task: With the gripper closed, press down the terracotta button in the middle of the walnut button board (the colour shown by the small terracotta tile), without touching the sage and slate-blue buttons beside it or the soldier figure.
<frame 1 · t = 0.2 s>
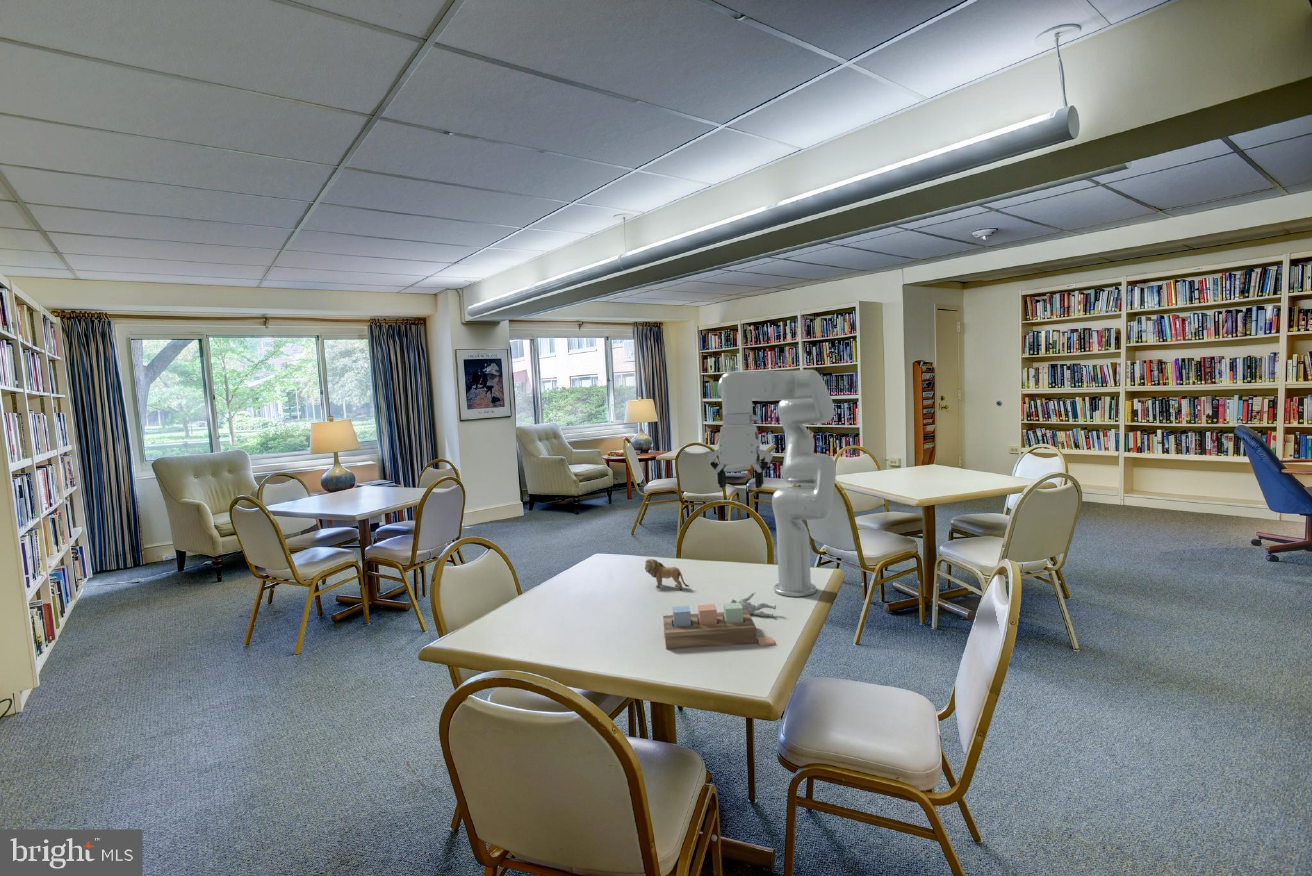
hand: (740, 487, 160), 37 cm above the table, tool pointing down, fingers open, 9 cm apart
prompt tile: (765, 642, 151), on the table
lion figurine: (665, 587, 201), on the table
slate button: (681, 619, 156), point 5 cm above the table, slide at 0.0 cm
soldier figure: (753, 615, 171), on the table
button board: (708, 636, 157), on the table
sage button: (733, 616, 157), point 5 cm above the table, slide at 0.0 cm
terracotta button: (707, 618, 157), point 5 cm above the table, slide at 0.0 cm
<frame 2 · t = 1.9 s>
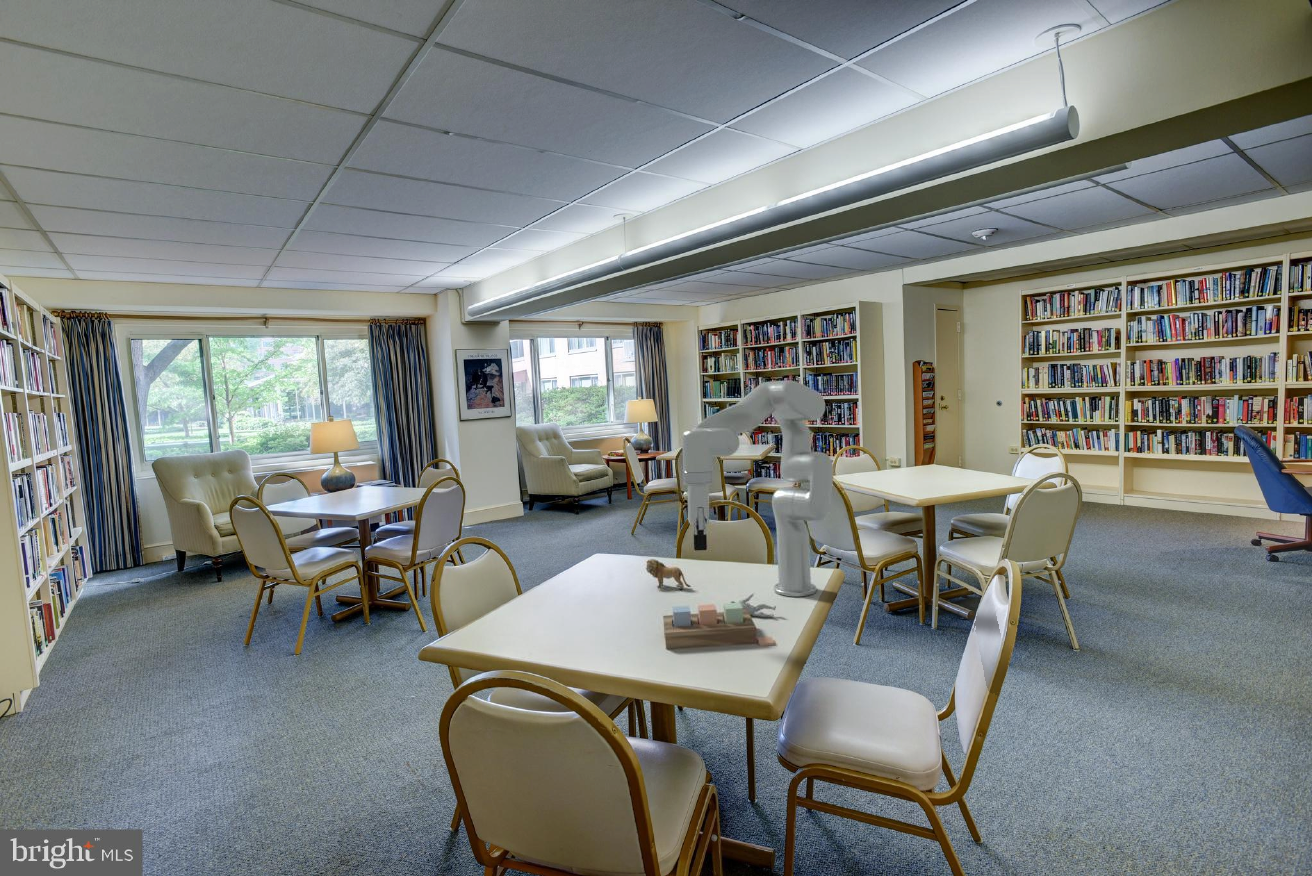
hand: (700, 549, 160), 21 cm above the table, tool pointing down, fingers closed
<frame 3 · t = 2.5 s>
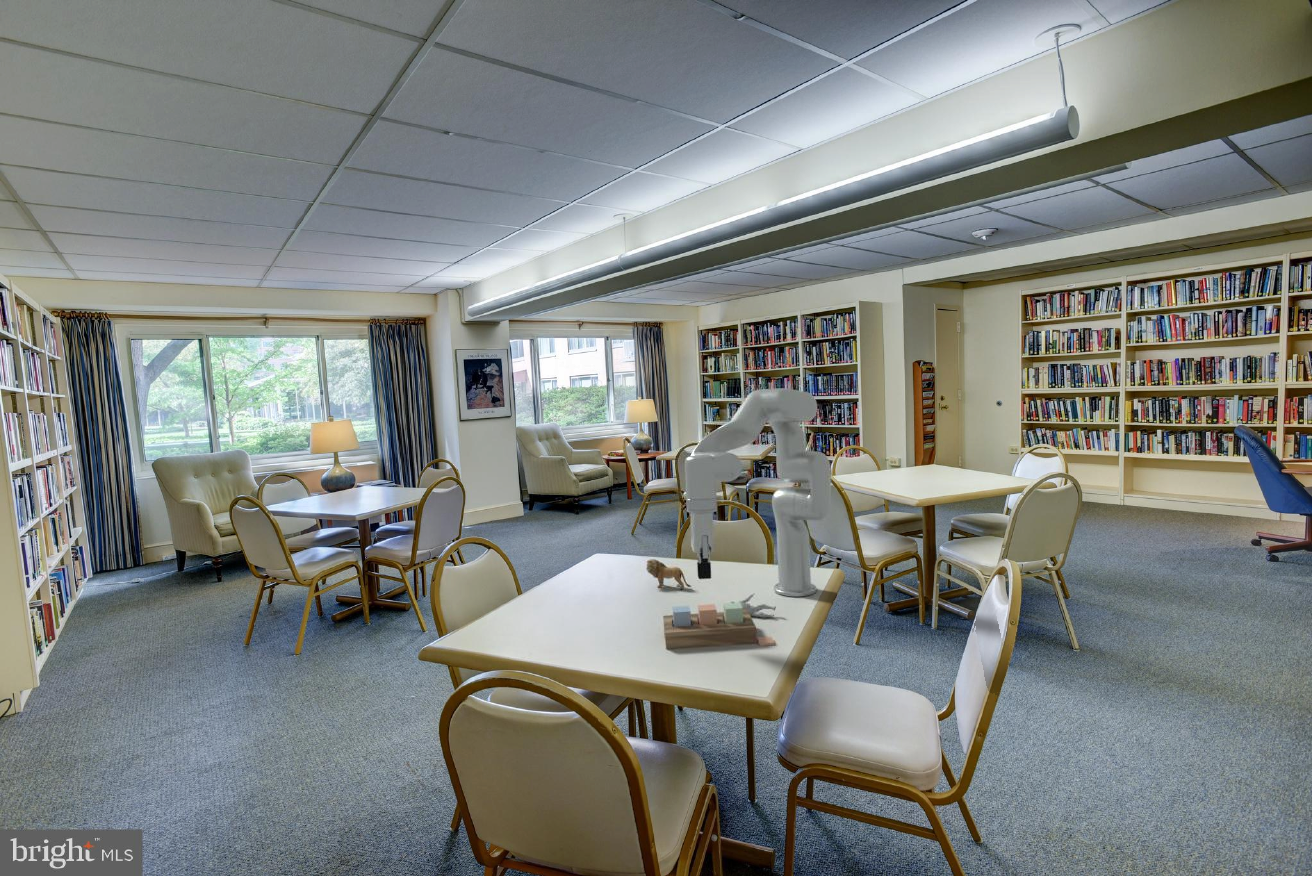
hand: (704, 577, 156), 15 cm above the table, tool pointing down, fingers closed
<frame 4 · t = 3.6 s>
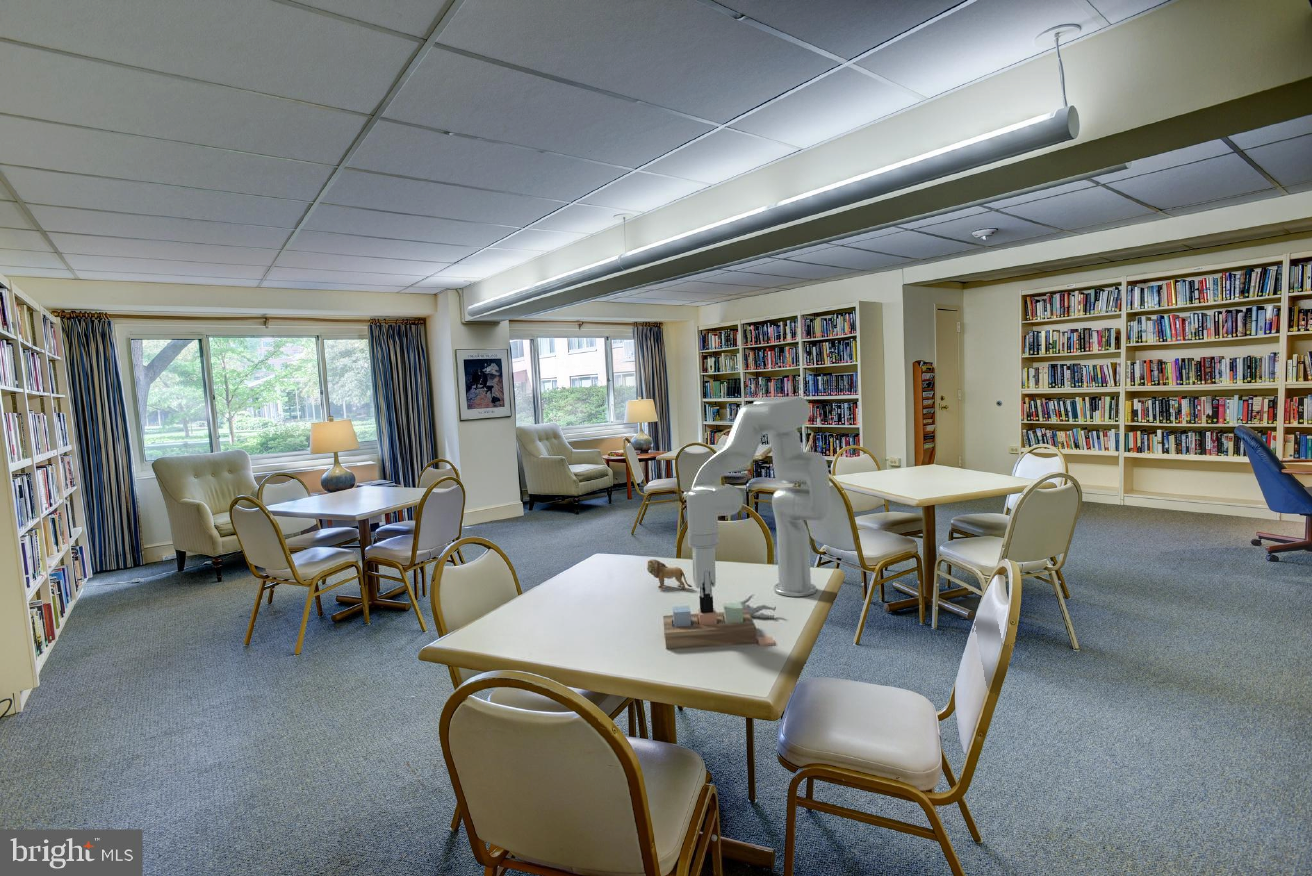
hand: (706, 611, 156), 7 cm above the table, tool pointing down, fingers closed
terracotta button: (707, 622, 157), point 4 cm above the table, slide at 1.0 cm, touching gripper
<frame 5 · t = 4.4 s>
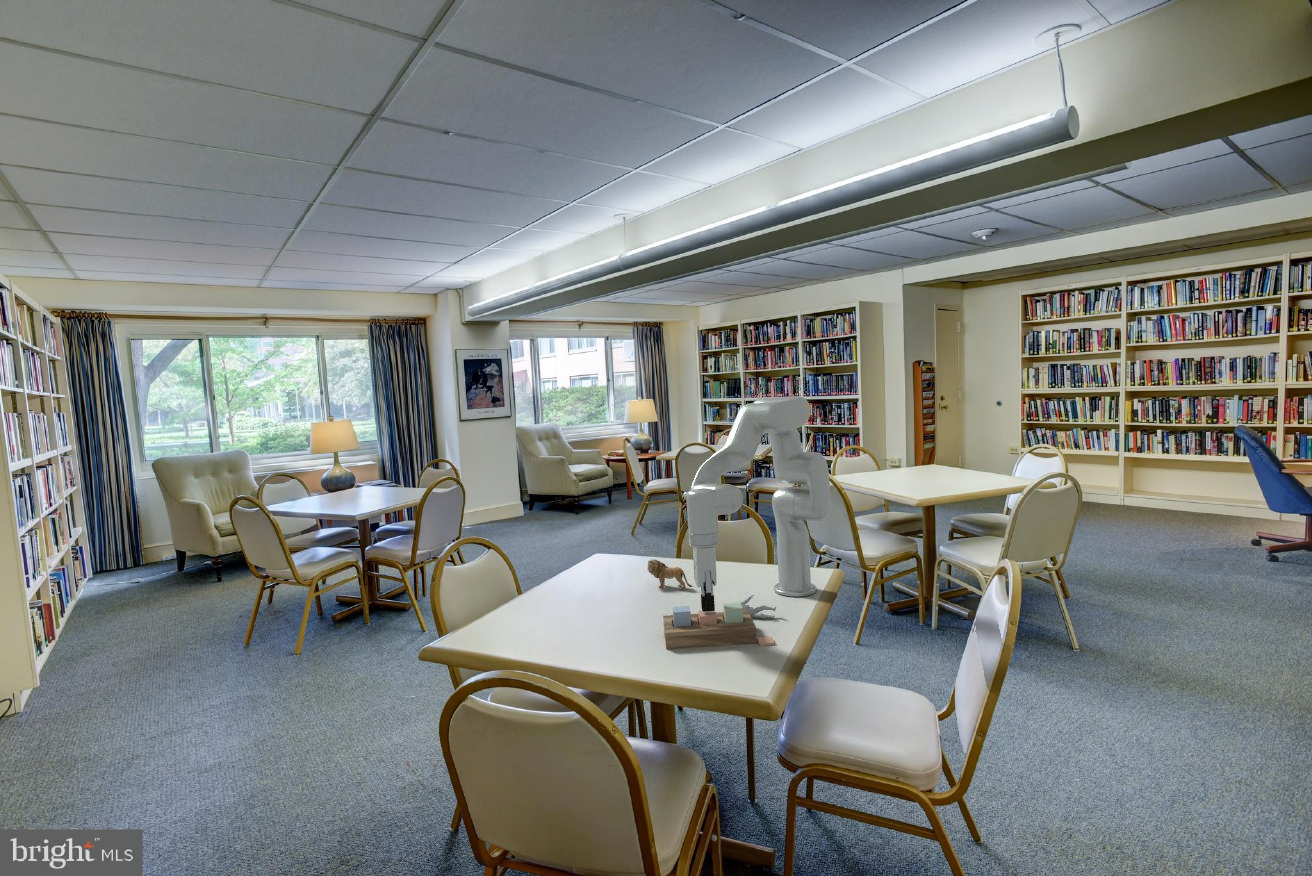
hand: (708, 610, 157), 7 cm above the table, tool pointing down, fingers closed
terracotta button: (708, 623, 157), point 3 cm above the table, slide at 1.4 cm
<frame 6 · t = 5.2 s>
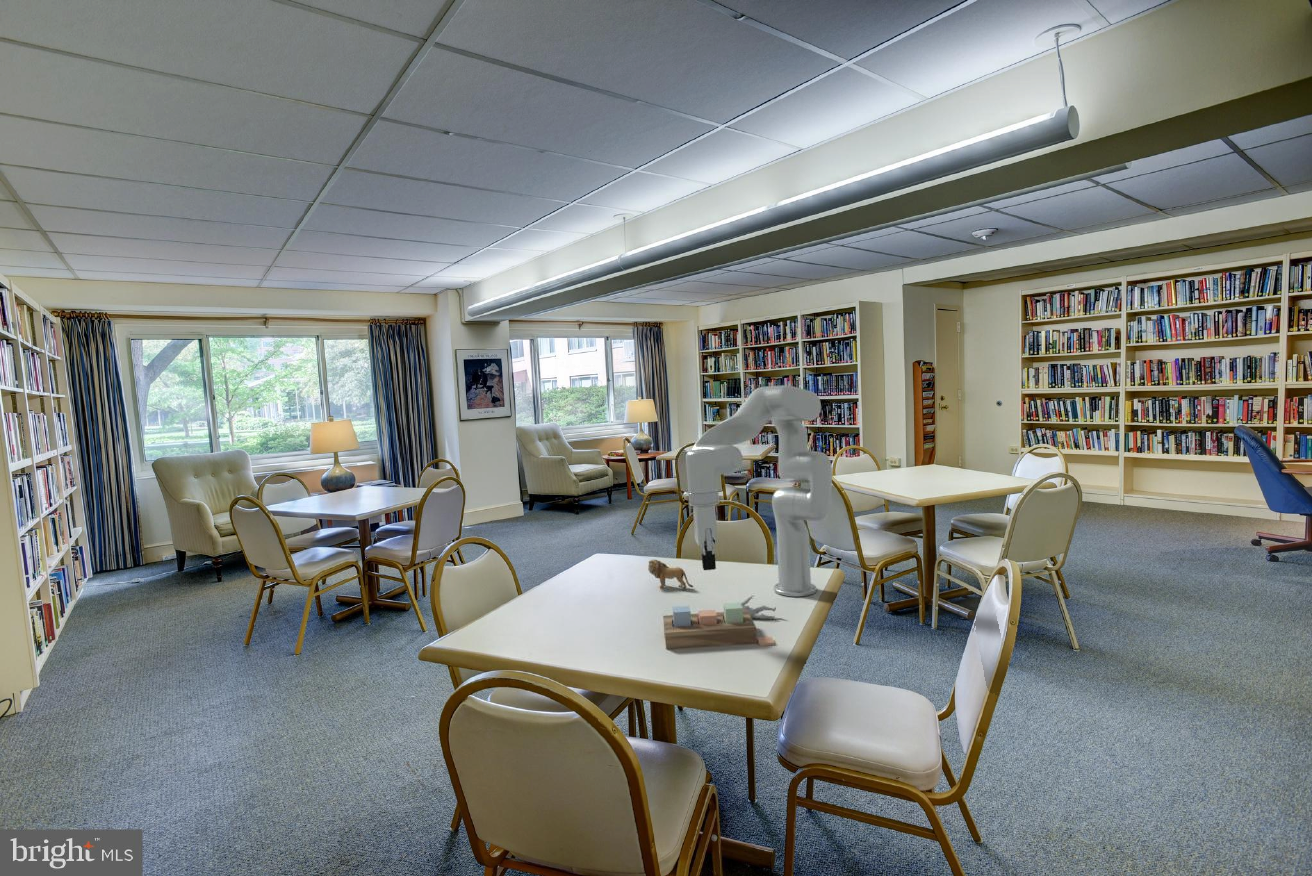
hand: (709, 568, 159), 16 cm above the table, tool pointing down, fingers closed
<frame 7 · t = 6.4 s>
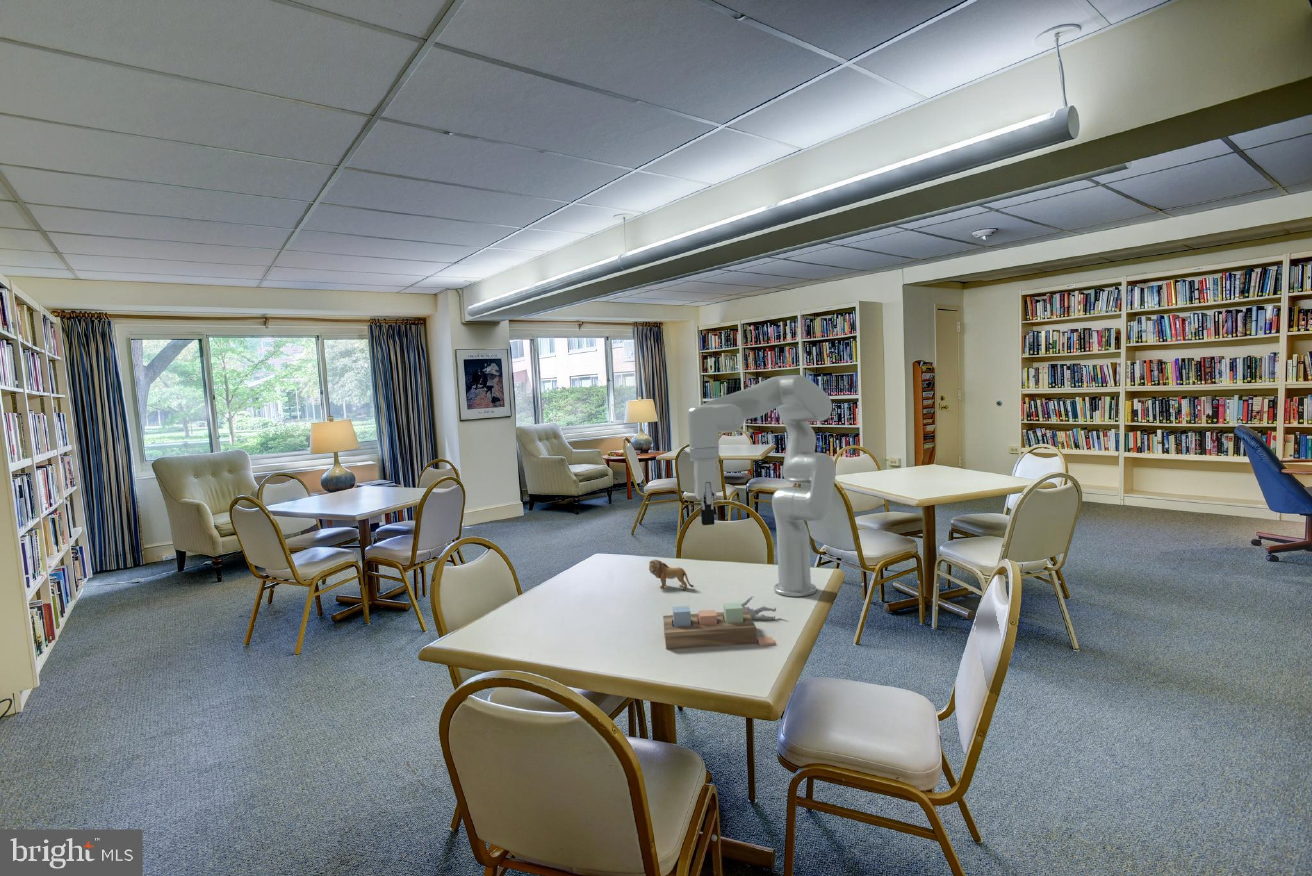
hand: (708, 524, 162), 27 cm above the table, tool pointing down, fingers closed
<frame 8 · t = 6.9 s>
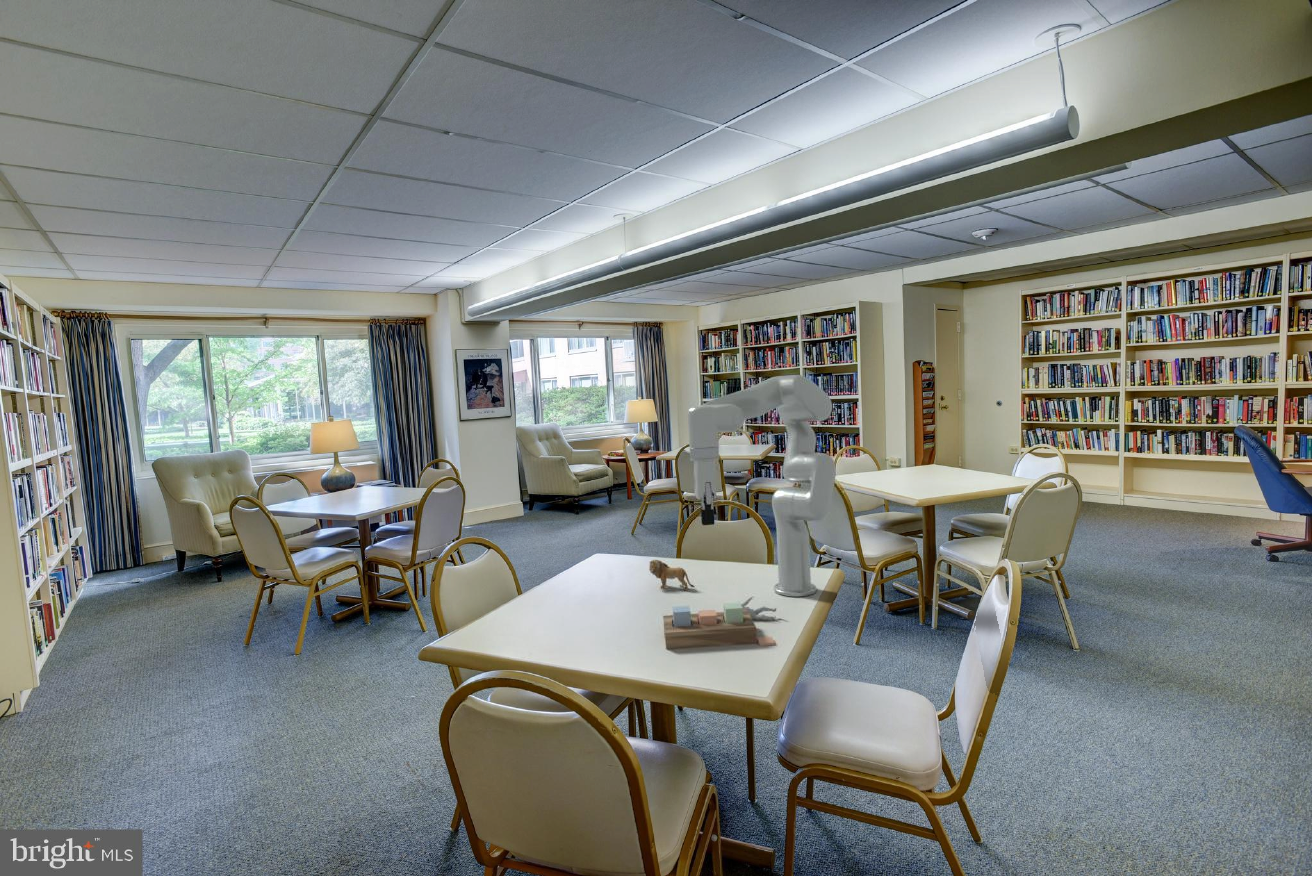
hand: (708, 524, 162), 27 cm above the table, tool pointing down, fingers closed
at the end: terracotta button slide at 1.4 cm; sage button slide at 0.0 cm; slate button slide at 0.0 cm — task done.
